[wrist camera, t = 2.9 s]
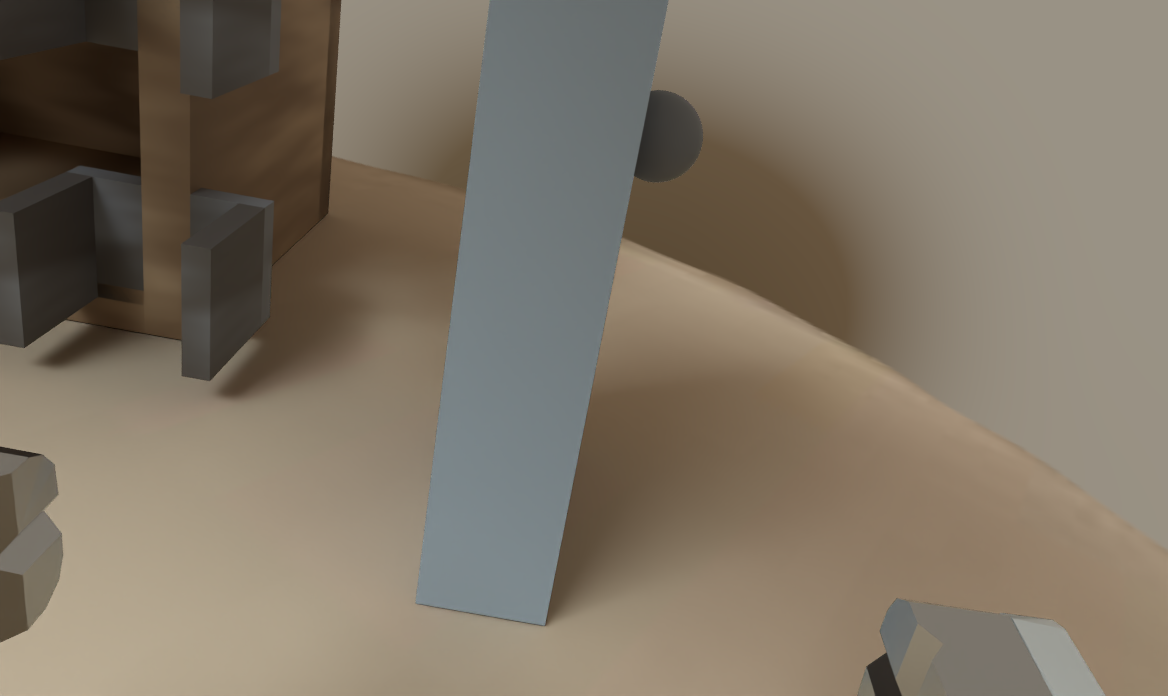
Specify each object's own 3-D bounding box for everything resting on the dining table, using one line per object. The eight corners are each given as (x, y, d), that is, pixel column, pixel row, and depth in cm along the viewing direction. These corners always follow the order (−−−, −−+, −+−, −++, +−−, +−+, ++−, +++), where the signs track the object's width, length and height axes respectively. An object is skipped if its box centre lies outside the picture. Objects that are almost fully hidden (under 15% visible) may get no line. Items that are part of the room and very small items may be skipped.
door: (600, 635, 22) (747, -5, 16) (415, 602, 22) (496, -53, 16) (612, 424, 31) (708, -33, 25) (482, 401, 31) (549, -63, 25)
